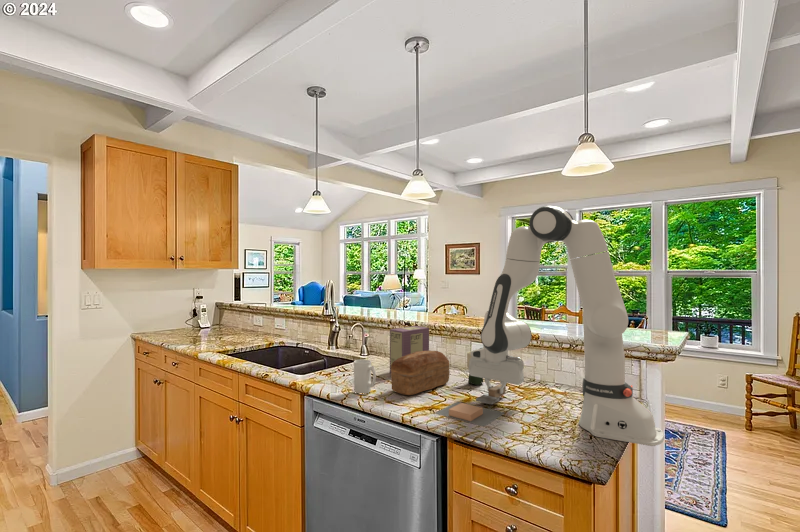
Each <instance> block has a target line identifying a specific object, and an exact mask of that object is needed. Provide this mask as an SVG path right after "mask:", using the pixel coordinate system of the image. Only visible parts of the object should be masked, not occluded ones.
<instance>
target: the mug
mask: <svg viewBox="0 0 800 532" xmlns="http://www.w3.org/2000/svg"><path fill="white" fill-rule="evenodd" d="M372 375H373V377H372ZM376 380H377V374H376V369H375V366H374V365H372V361H371V359H364V358H363V359H361V358H360V359H355V360H354V361H353V386H354V388H353V389H354V391H355V392H356V393H368V394H370V393H371V392H372V391H371V389H372V388H374V387H375V384H376ZM370 391H371V392H370ZM355 392H354V393H355ZM369 392H370V393H369ZM356 393H355V394H356Z"/></svg>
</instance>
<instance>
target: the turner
mask: <svg viewBox="0 0 800 532" xmlns="http://www.w3.org/2000/svg"><path fill="white" fill-rule="evenodd" d="M506 385H507V384H506ZM506 385H505V387H504V388H503V393H502V394H500V393H498V388H499V387H501V386H502V384H500V383H499V384H496V385H495V386H494V385H493V387H492V388H490V389H488V390H487V392H488V395H487V394H482V395H481V396H478V397H476V398H475V402H480V403H483V404H486V405H487V404H489V405H493V404H495V403H497V402H499V401H500V398H501V396H503V395H505V394H506V393H507V392H506V391H507V390H506V387H507V386H506Z"/></svg>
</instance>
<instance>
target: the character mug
mask: <svg viewBox="0 0 800 532" xmlns="http://www.w3.org/2000/svg"><path fill="white" fill-rule="evenodd" d="M471 351H472V350H471ZM471 351H467V354H466V358H467V359H466V367H467V368H468V369H469V361H470V358H471ZM468 383H469V384H473V385H477V386H479V385H483V383H484V378H480V377H475V376H471V375H470V374H469V373H468Z"/></svg>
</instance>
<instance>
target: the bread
mask: <svg viewBox="0 0 800 532" xmlns="http://www.w3.org/2000/svg"><path fill="white" fill-rule="evenodd" d="M450 373H451V372H450V361H449V358H448V357H447V356H446V355H445V354H444V353H443V352H442V351H438V350H429V351H416V352H414V353H411V354H408V355H405V356H402V357H400V358H398V359H396V360H395V361H394V362H393V363H392V365H391V373H390V375H391V376H390V377H391V379H390V381H391V390H392V391H394V393H396V394H398V395H404V396H413V395H417V394H419V393H421V392H424V391H429V390H432V389H434V388H437V387H441V386H444V385H446V384H448V382H449V381H450V375H451V374H450Z"/></svg>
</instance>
